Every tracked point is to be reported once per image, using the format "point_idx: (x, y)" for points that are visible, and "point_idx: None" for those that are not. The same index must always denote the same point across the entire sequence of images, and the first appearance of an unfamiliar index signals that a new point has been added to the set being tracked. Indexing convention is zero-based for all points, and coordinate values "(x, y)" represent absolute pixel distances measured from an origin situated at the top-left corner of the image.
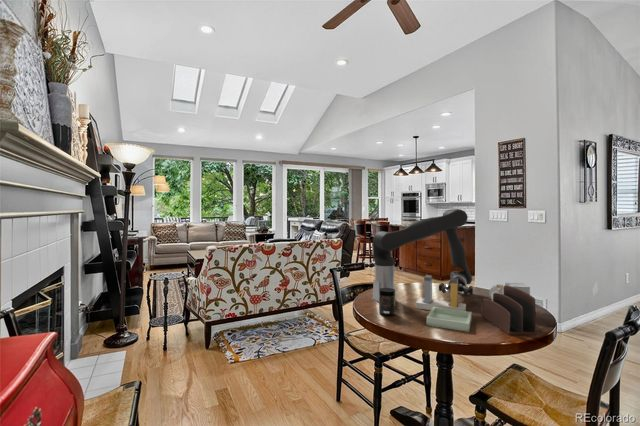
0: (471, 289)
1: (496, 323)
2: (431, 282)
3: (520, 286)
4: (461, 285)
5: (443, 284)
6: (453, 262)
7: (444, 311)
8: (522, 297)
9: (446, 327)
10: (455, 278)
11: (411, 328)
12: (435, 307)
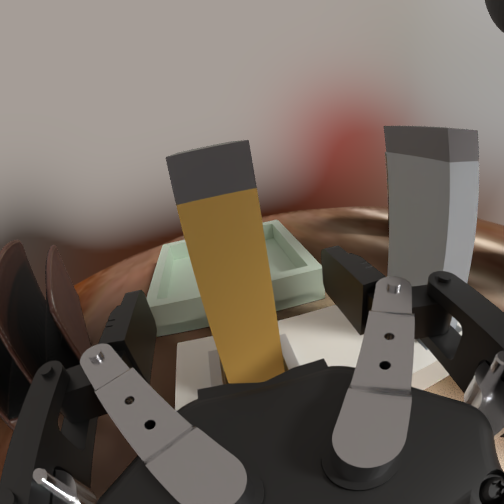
0: (54, 367)
1: (81, 317)
2: (431, 188)
3: None
4: (152, 405)
5: (496, 357)
6: None
7: None
8: None
9: None
10: (195, 149)
11: (297, 222)
12: (309, 268)
